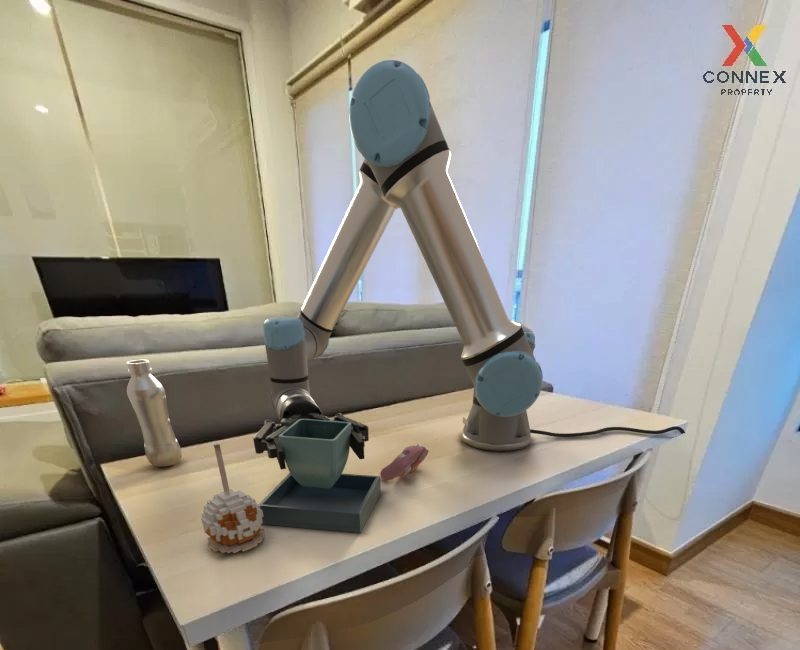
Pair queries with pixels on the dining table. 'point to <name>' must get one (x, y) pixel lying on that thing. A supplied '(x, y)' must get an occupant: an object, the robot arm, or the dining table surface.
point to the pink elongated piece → (404, 462)
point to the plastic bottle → (152, 415)
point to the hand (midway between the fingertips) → (323, 455)
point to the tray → (322, 504)
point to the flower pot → (316, 451)
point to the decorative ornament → (232, 517)
